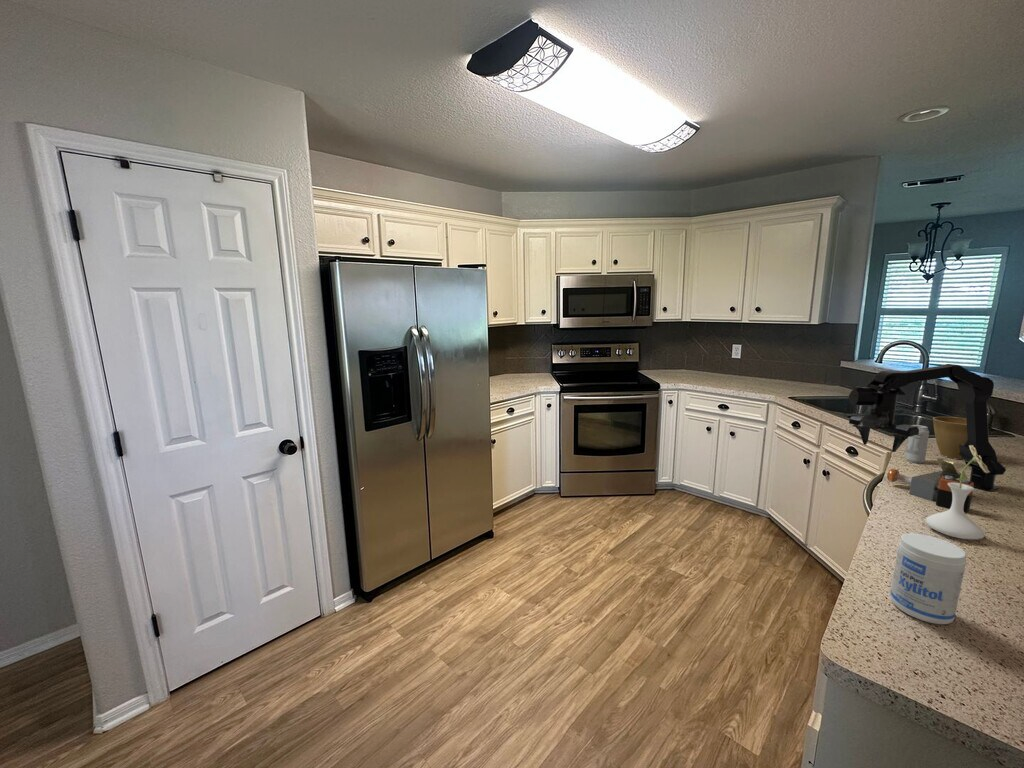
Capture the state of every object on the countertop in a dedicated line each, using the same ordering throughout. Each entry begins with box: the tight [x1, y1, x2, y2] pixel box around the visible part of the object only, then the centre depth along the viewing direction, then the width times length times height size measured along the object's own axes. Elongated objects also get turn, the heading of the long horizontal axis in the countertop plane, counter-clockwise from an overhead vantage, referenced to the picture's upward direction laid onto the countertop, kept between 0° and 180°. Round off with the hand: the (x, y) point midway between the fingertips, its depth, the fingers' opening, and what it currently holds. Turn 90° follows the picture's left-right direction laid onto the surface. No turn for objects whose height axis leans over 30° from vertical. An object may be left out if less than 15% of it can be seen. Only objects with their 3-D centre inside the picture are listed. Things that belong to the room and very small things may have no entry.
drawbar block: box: [909, 470, 963, 502], centre depth 139 cm, size 16×6×6 cm, turn 109°
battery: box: [935, 475, 974, 514], centre depth 129 cm, size 4×7×10 cm, turn 33°
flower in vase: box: [924, 445, 990, 540], centre depth 113 cm, size 13×11×25 cm
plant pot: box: [932, 416, 968, 460], centre depth 174 cm, size 15×15×16 cm
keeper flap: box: [936, 457, 961, 476], centre depth 140 cm, size 7×4×1 cm
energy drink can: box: [904, 424, 930, 464], centre depth 169 cm, size 6×6×15 cm
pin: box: [886, 468, 939, 492], centre depth 140 cm, size 4×14×4 cm, turn 19°
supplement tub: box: [889, 532, 967, 625], centre depth 84 cm, size 10×10×15 cm
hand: (879, 448), depth 150 cm, fingers open, 9 cm apart
